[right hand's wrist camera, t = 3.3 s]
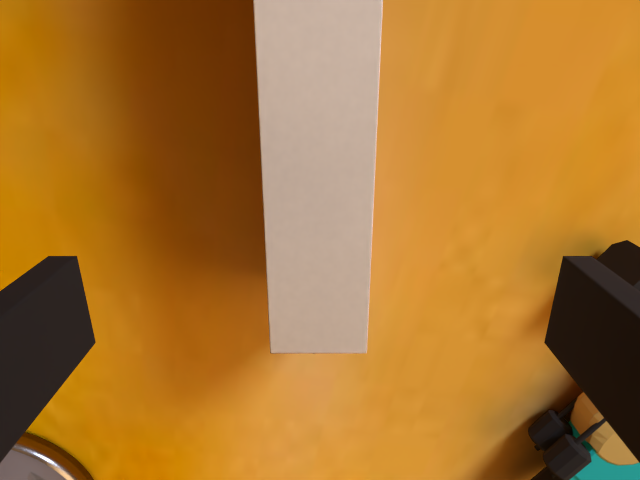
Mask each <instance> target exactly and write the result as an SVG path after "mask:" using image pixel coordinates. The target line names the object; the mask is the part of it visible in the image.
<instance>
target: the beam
mask: <svg viewBox="0 0 640 480" xmlns="http://www.w3.org/2000/svg"><path fill="white" fill-rule="evenodd" d="M253 7H254V28H255V48H256V69H257V89H258V110H259V130H260V151H261V172H262V192H263V213H264V233H265V254H266V274H267V295H268V316H269V336H270V353H367V337H368V315H369V293H370V271H371V249H372V228H373V206H374V184H375V162H376V140H377V118H378V96H379V74H380V52H381V30H382V8H383V0H253Z"/></svg>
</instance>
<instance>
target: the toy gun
mask: <svg viewBox="0 0 640 480" xmlns="http://www.w3.org/2000/svg"><path fill="white" fill-rule="evenodd" d="M597 261H599V262H600V263H602V264H603V265H604V266H606V267H607V268H608V269H610V270H611V271H613V272H614V273H615V274H617V275H618V276H619V277H621V278H622V279H624V280H625V281H626V282H628V283H629V284H630V285H632V286H633V287H635V288H636V289H637V290H639V291H640V247H638V246H636V245H635V244H633V243H631V242H629V241H628V240H626V241H623V242H619V243H615V244H612V245H611V246H610V247H609V248H608V249H607V250H606V251H605V252H604V253H603V254H602V255H601V256H600V257H599V258H598V259H597ZM572 409H573V410H572ZM571 410H572V413H571V420H570V421H569V422H568V421H567V420H566V419H565V418H564V416H565V415H567V414H568V413H569V412H570V411H571ZM528 433H529V436H530V437H531V439H532V441H533V442H534V443H535V444H536V446H535V448H536V450H540V449H542V450H543V451H545V452H544V453H543V459H544V462H545V464H546V465H547V466H546V467H545V468H544V469H543V470H542V471H540V472H539V473H538V474H537V475H536V476H535V477H533V478H532V479H531V480H640V463H639V462H638V460H637V459H636V458H635V456H634V455H633V454H632V453H631V451H630V450H629V449H628V448H627V446H626V445H625V444H624V443H623V441H622V440H621V439H620V437H619V436H618V435H617V434H616V432H615V431H614V430H613V429H612V427H611V426H610V425H609V424H608V422H607V421H606V420H605V418H604V417H603V416H602V415H601V413H600V412H599V411H598V410H597V408H596V407H595V406H594V405H593V403H592V402H591V401H590V400H589V398H588V397H587V396H586V394H585V393H584V392H582V393H581V394H580V395H579V396H578V397H577V398H576V399H575V400H573V401H572V402H571V403H570V404H569V405H568V406H567V407H566V408H564V409H563V410H562V411H561V412H560V413H558V412H556V411H553V410H548V411H547V412H546V413H545V414H544V415H542V416H541V417H540V418H539V419H538V420H537V421H536V422H535V423H534V424H532V425H531V426H530V427H529V429H528Z"/></svg>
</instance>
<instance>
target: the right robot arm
mask: <svg viewBox="0 0 640 480" xmlns="http://www.w3.org/2000/svg"><path fill="white" fill-rule="evenodd" d="M95 343H96V342H95V338H94V333H93V328H92V324H91V319H90V315H89V310H88V305H87V301H86V296H85V292H84V287H83V282H82V278H81V273H80V269H79V264H78V259H77V256H48V257H47V258H45V259H44V260H43V261H41V262H40V263H38V264H37V265H36V266H34V267H33V268H32V269H30V270H29V271H27V272H26V273H25V274H23V275H22V276H21V277H19V278H18V279H16V280H15V281H14V282H12V283H11V284H10V285H8V286H7V287H5V288H4V289H3V290H1V291H0V480H93V478H92V477H91V475H90V474H89V472H88V471H87V470H86V469H85V468H84V467H83V466H82V465H81V464H80V463H79V462H78V461H77V460H76V459H75V458H74V457H72V456H71V455H70V454H68V453H67V452H66V451H64V450H63V449H61V448H60V447H58V446H56V445H54V444H53V443H51V442H49V441H47V440H45V439H42V438H40V437H38V436H35V435H32V434H29V433H26V432H25V431H26V430H27V429H28V427H29V426H30V425H31V424H32V422H33V421H34V420H35V418H36V417H37V416H38V415H39V413H40V412H41V411H42V410H43V408H44V407H45V406H46V405H47V403H48V402H49V401H50V400H51V398H52V397H53V396H54V394H55V393H56V392H57V391H58V389H59V388H60V387H61V386H62V384H63V383H64V382H65V381H66V379H67V378H68V377H69V375H70V374H71V373H72V372H73V370H74V369H75V368H76V367H77V365H78V364H79V363H80V362H81V360H82V359H83V358H84V357H85V355H86V354H87V353H88V351H89V350H90V349H91V348H92V346H93V345H94V344H95ZM544 343H545V344H546V345H547V346H548V348H549V349H550V350H551V351H552V353H553V354H554V355H555V357H556V358H557V359H558V360H559V362H560V363H561V364H562V365H563V367H564V368H565V369H566V370H567V372H568V373H569V374H570V375H571V377H572V378H573V379H574V381H575V382H576V383H577V384H578V386H579V387H580V388H581V389H582V391H583V392H584V393H585V394H586V396H587V397H588V398H589V400H590V401H591V402H592V403H593V405H594V406H595V407H596V408H597V410H598V411H599V412H600V413H601V415H602V416H603V417H604V418H605V420H606V421H607V422H608V424H609V425H610V426H611V427H612V429H613V430H614V431H615V432H616V434H617V435H618V436H619V437H620V439H621V440H622V441H623V443H624V444H625V445H626V446H627V448H628V449H629V450H630V451H631V453H632V454H633V455H634V456H635V458H636V459H637V460H638V462H639V463H640V291H639V290H637V289H636V288H635V287H633V286H632V285H630V284H629V283H628V282H626V281H625V280H624V279H622V278H621V277H619V276H618V275H617V274H615V273H614V272H613V271H611V270H610V269H608V268H607V267H606V266H604V265H603V264H602V263H600V262H599V261H597V260H596V259H595V258H593V257H592V256H563V259H562V264H561V269H560V273H559V278H558V282H557V287H556V292H555V296H554V301H553V305H552V310H551V315H550V319H549V324H548V328H547V333H546V338H545V342H544Z"/></svg>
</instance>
